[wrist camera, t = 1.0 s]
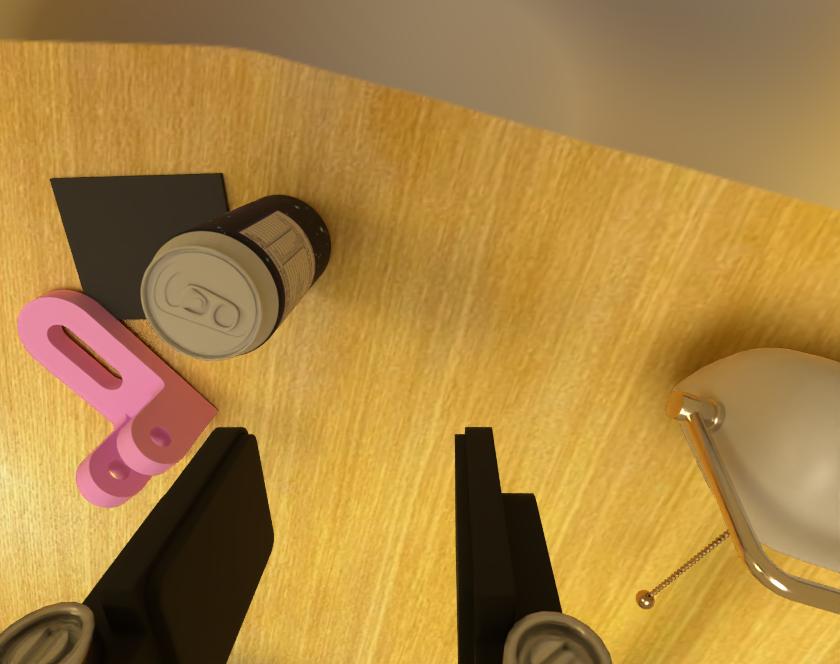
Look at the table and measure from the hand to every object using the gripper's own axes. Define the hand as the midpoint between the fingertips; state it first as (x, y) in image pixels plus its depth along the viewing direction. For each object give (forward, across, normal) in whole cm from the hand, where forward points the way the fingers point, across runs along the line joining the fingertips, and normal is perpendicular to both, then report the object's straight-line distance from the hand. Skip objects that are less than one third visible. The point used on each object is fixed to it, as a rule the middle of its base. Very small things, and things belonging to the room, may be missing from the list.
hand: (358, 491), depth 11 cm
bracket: (+22, +21, +8) cm, 31 cm away
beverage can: (+23, +8, 0) cm, 24 cm away
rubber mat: (+22, +16, 0) cm, 28 cm away
